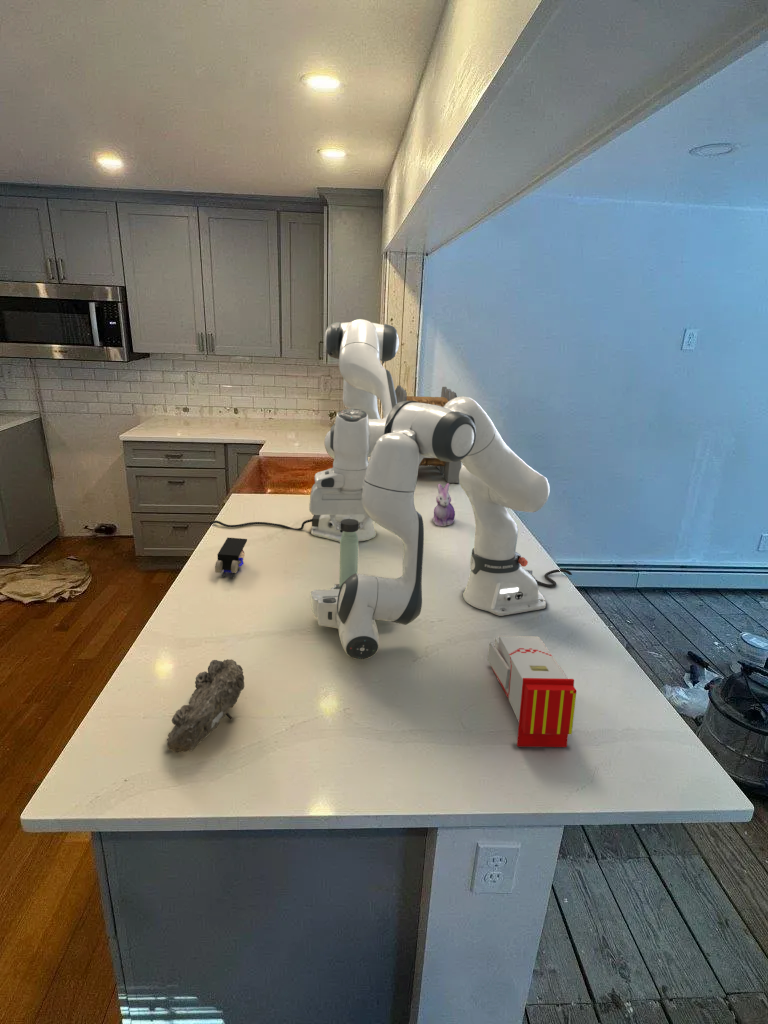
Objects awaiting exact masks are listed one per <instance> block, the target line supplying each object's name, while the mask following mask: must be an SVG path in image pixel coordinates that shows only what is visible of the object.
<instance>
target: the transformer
mask: <svg viewBox="0 0 768 1024" xmlns="http://www.w3.org/2000/svg"><path fill="white" fill-rule="evenodd" d="M440 393H441V394H440V396H415V395H414V396H413V395H412V396H411V395H407V394H408V393H407V390H406V389H404V388H403V387H402V385H399V384H398V385H397V386H396V388H395V394H396V399H397V403H399V402H402V401H417V402H419V403H426V404H431V405H438V406H441V407H444V406H445V404H446V403H447V402H449V401H450V400H452V399H454V398H456V397H458V395H457V392H455V391H453V390H452V389H451V388H447V386H442V387H441V392H440ZM422 456H424V458H423V460H422V461H421V463H420V464H419V467H436V468H437V470H438V469H439V473H440V474H441V475H443V478H444V479H445V481H446V482H447V483H449V484H455V483H456V484H460V483H459V472H460V469H461V467H462V462H461V461H457V462H446V461H441V460H439V459H437V458H432V457H428V456H425V455H422Z"/></svg>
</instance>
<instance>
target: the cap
mask: <svg viewBox="0 0 768 1024" xmlns="http://www.w3.org/2000/svg"><path fill="white" fill-rule="evenodd" d="M358 529H359V522H358V521H357V520H355V519H344V520H342V521H341V530H342V531H344V532H355V531H358Z"/></svg>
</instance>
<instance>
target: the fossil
mask: <svg viewBox="0 0 768 1024" xmlns="http://www.w3.org/2000/svg"><path fill="white" fill-rule="evenodd" d="M243 670H244V669H243V667H242V665H240V664H237V662H236V661H235V660H234V659H232V658H231V659H227V658H226V659H224V660H223V661H222V660H217V659H212V660H211V661H210V663H209V665H208V666H207V671H201V672H199V673H198V674H197V675H196V676H195V680H194V684H195V685H194V687H195V689H194V690H193V693H192V694H191V697H190V698H189V700H188V704H184V705H182V706H181V707H180V709H177V710H176V711H175V713H174V715H173V716H172V718H171V723H172V724H173V727H172V730H171V731H170V732H168V734H167V738H166V741H167V742H166V745H167V749H168V750H169V751H173V752H174V753H176V754H178V753H182V752H188V751H189V752H192V751H193V750H195V748H196V747H197V746H199V744H200V743H201V742H203V741H204V740H205V739H206V738H207V737H208V736H209V735H210V734H211V733H212V732H214V730H215V729H217V727H218V726H219V724H220V722H221V721H222V720H223V719H224V718H225V716H226V717H227V719H229V720H233V717H232V715H230V714H229V710H230V709H231V708H234V706H235V704H236V703H237V702H238V699H239V697H240V695H241V693H242V691H243V690H245V689H244V688H245V675H244V671H243Z"/></svg>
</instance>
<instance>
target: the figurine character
mask: <svg viewBox="0 0 768 1024" xmlns="http://www.w3.org/2000/svg"><path fill="white" fill-rule="evenodd" d="M247 542H248V538H240V537H226V539H225V541H224V543H223V544H222V546H221V547H220V549H219V551H218V552H217V560H216V562H215V564H214V572H215V573H221V577H222V578H224V577H225V576H226V574H227V573H230V574H231V573H232V574H231V578H234V577H235V575H236V573H237V572H239V571H240V567H242V566H243V565H244V564H245V562H244V558H245V551H244V547H245V546H246V544H247Z"/></svg>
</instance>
